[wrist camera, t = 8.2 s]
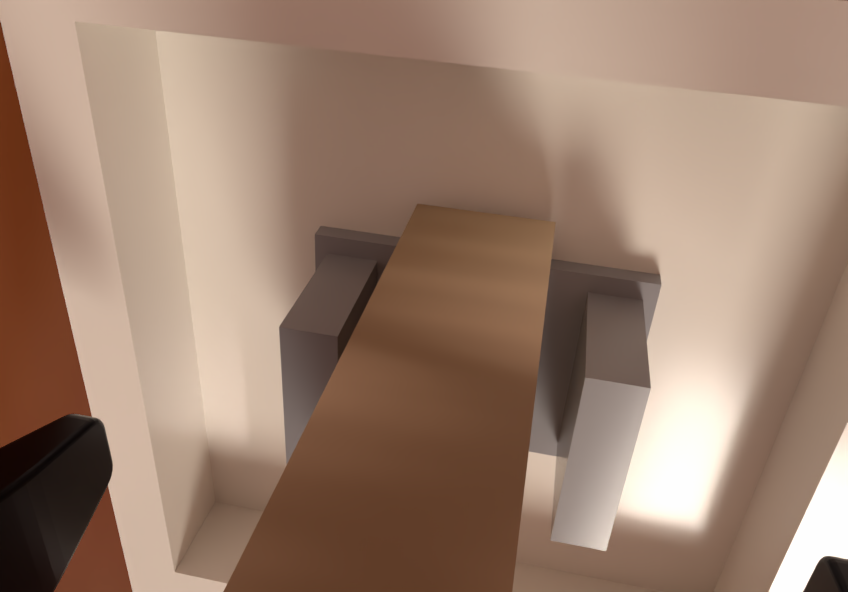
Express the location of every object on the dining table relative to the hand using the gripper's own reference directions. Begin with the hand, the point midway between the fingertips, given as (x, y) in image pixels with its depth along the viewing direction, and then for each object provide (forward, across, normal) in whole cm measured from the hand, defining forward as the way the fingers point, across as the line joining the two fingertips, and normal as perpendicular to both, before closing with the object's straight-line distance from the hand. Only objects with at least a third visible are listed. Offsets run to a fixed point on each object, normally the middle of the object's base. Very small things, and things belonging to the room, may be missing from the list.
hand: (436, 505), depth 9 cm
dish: (+4, 0, 0) cm, 4 cm away
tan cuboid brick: (+3, 0, 0) cm, 3 cm away
